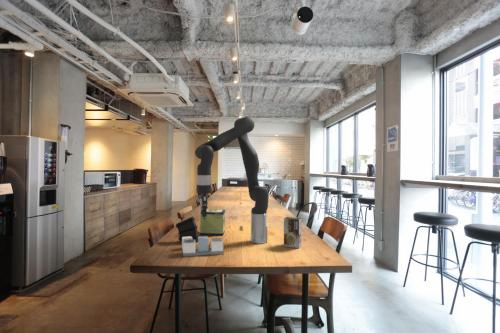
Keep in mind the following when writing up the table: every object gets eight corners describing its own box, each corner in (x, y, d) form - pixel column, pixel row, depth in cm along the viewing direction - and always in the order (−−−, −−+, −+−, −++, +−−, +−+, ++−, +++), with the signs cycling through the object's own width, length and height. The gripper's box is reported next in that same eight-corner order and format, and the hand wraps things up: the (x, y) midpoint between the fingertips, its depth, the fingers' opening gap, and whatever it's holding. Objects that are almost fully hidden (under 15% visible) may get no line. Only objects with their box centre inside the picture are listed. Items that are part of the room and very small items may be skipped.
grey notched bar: (221, 249, 141) (221, 237, 141) (223, 254, 134) (223, 241, 134) (183, 252, 136) (183, 239, 136) (183, 256, 129) (183, 243, 129)
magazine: (201, 240, 152) (191, 217, 153) (182, 249, 154) (172, 225, 155) (203, 239, 156) (193, 215, 157) (184, 247, 158) (174, 224, 159)
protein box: (223, 235, 171) (223, 212, 171) (199, 235, 171) (200, 211, 171) (225, 231, 181) (225, 209, 181) (202, 231, 181) (203, 209, 181)
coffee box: (301, 245, 151) (302, 217, 151) (299, 248, 145) (299, 219, 145) (286, 243, 155) (286, 216, 155) (283, 246, 149) (283, 218, 149)
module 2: (207, 248, 138) (207, 235, 138) (208, 251, 133) (208, 238, 134) (197, 249, 137) (198, 236, 137) (198, 251, 132) (198, 238, 132)
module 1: (190, 246, 146) (191, 236, 146) (192, 249, 142) (192, 237, 142) (181, 247, 144) (181, 237, 144) (183, 250, 140) (183, 238, 140)
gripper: (212, 184, 129) (212, 217, 129) (210, 183, 143) (209, 212, 143) (197, 185, 127) (196, 218, 127) (196, 183, 141) (195, 213, 141)
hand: (203, 215), depth 135 cm, fingers open, 8 cm apart
